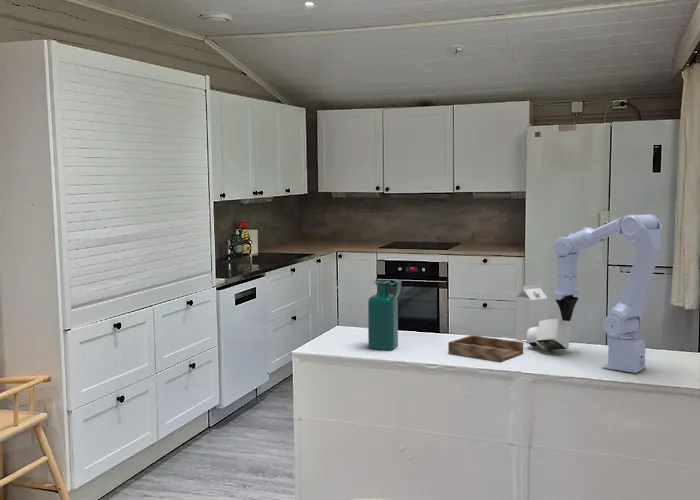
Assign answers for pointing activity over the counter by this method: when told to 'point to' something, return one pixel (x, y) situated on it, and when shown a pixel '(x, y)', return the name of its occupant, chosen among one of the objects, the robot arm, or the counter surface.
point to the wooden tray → (485, 348)
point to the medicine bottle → (550, 335)
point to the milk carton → (529, 310)
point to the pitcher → (383, 317)
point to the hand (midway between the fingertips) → (566, 320)
